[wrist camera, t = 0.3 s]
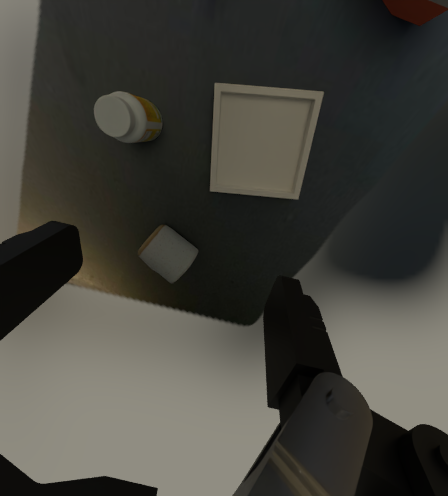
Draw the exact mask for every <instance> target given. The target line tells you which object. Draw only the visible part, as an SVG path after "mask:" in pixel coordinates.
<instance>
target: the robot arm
mask: <svg viewBox="0 0 448 496" xmlns="http://www.w3.org/2000/svg"><path fill="white" fill-rule="evenodd" d="M82 263H83V256H82V250H81V244H80V237H79V231H78V229H77V227H76V226H74V225H69V224H65V223H61V222H57V221H50V222H48V223H46V224H44V225H42V226H40V227H38V228H36V229H34V230H32V231H29V232H25V233H22V234H18V235H16V236H14V237H12V238H9V239H7V240H5V241H3V242H2V244H0V340H2V339H3V338H4V337H5V336H6V335H7V334H8V333H10V332H11V331H12V330H13V329H14V328H15V327H16V326H18V325H19V324H20V323H21V322H22V321H23V320H24V319H25V318H27V317H28V316H29V315H30V314H31V313H32V312H33V311H35V310H36V309H37V308H38V307H39V306H40V305H42V303H44V302H45V301H46V300H47V299H48V298H49V297H51V296H52V295H53V294H54V293H55V292H56V291H57V290H59V289H60V288H61V287H62V286H63V285H64V284H66V283H67V282H68V281H69V280H70V279H71V278H72V277H73V276H75V275H76V274H77V273H78V272H79V270H80V268H81V266H82ZM263 320H264V321H263V322H264V341H265V362H266V382H267V402H268V407H270V408H274V409H278V410H279V412H280V423H279V424H278V426H277V427H276V429H275V431H274V433H273V434H272V435H271V437H270V439H269V440H268V442H267V443H266V445H265V446H264V448H263V450H262V451H261V453H260V454H259V456H258V457H257V459H256V461H255V462H254V464H253V465H252V467H251V468H250V470H249V472H248V473H247V475H246V476H245V478H244V480H243V481H242V483H241V484H240V486H239V487H238V489H237V490H236V492H235V493H234V494H233V496H448V435H447V434H446V433H444V432H443V431H441V430H439V429H437V428H435V427H433V426H430V425H426V424H420V425H417V426H416V427H414V428H412V429H411V430H409V431H407V430H406V429H404V428H402V427H400V426H399V425H397V424H395V423H393V422H392V421H389V420H388V419H386V418H384V417H383V416H381V415H379V414H377V413H376V412H374V411H372V410H371V409H370V408H369V406H368V404H367V402H366V400H365V399H364V397H363V395H362V394H361V393H360V392H359V390H358V389H357V388H356V387H355V386H353V384H352V383H350V382H349V381H348V380H346V379H345V378H343V376H342V374H341V371H340V368H339V365H338V362H337V359H336V357H335V354H334V351H333V348H332V345H331V342H330V339H329V336H328V333H327V332H326V327H325V325H324V322H323V321H322V320H323V319H322V316H321V313H320V310H319V307H318V306H317V305H316V303H315V302H314V301H313V300H312V298H311V297H310V296H308V295H304V294H303V292H302V288H301V285H300V281H299V280H297V279H293V278H289V277H285V276H280V275H279V276H278V277H277V279H276V281H275V283H274V285H273V288H272V290H271V293H270V295H269V297H268V300H267V302H266V305H265V308H264V315H263ZM157 490H158V488H155V487H150V486H146V485H142V484H138V483H133V482H129V481H125V480H120V479H116V478H112V477H107V476H102V477H94V478H86V479H78V480H71V481H63V482H55V483H47V484H40V483H37V482H35V481H33V480H32V479H31V478H29V477H28V476H27V475H26V474H25V473H23V472H22V471H21V470H20V469H18V468H17V467H16V466H14V465H13V464H12V463H11V462H9V461H8V460H7V459H6V458H5V457H3V456H2V455H1V454H0V496H156V495H157Z"/></svg>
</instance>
